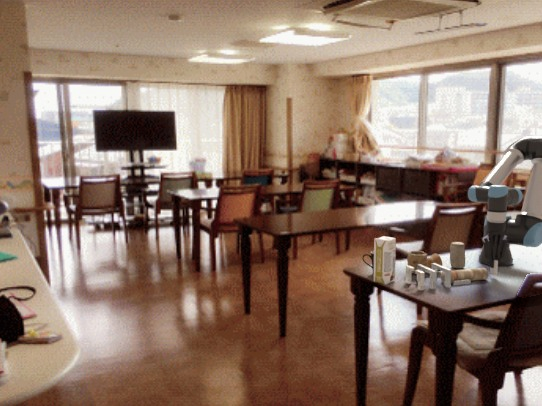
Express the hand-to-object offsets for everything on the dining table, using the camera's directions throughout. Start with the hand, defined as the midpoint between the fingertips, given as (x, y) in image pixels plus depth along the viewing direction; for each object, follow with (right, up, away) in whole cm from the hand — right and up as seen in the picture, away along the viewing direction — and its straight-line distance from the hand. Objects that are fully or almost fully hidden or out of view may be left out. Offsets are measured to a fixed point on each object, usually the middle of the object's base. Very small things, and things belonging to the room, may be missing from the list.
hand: (493, 274), depth 214 cm
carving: (-9, 0, +17) cm, 20 cm away
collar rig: (-26, -3, -7) cm, 27 cm away
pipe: (-27, -1, +9) cm, 29 cm away
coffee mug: (-49, -1, +9) cm, 50 cm away
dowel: (-14, -2, -4) cm, 15 cm away
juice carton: (-48, -3, -3) cm, 48 cm away
